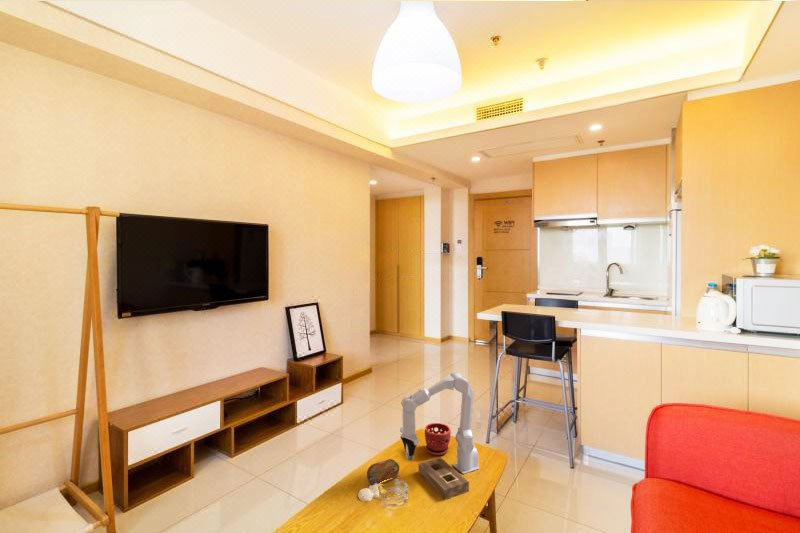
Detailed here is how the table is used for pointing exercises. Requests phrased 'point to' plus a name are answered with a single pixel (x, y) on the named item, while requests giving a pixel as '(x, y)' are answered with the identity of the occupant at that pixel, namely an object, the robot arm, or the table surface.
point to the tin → (382, 471)
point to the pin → (408, 454)
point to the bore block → (443, 478)
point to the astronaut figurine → (369, 493)
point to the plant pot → (437, 438)
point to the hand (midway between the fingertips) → (409, 453)
